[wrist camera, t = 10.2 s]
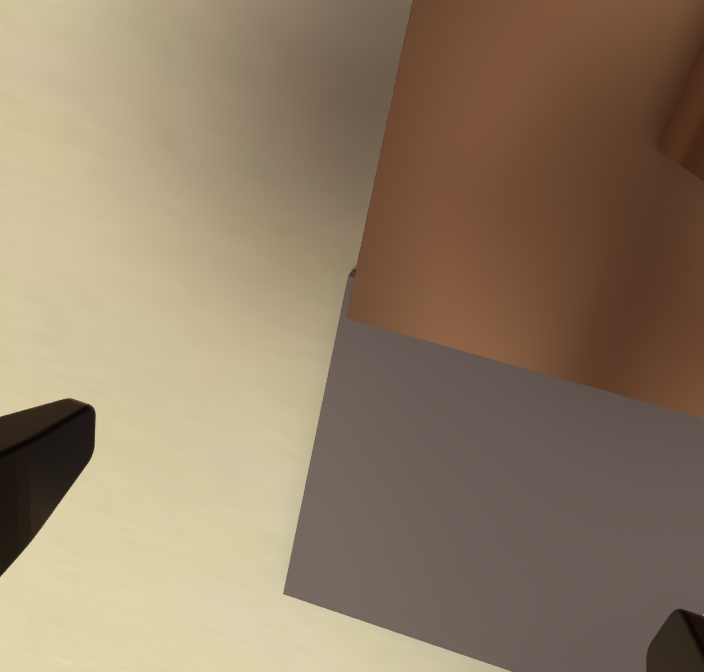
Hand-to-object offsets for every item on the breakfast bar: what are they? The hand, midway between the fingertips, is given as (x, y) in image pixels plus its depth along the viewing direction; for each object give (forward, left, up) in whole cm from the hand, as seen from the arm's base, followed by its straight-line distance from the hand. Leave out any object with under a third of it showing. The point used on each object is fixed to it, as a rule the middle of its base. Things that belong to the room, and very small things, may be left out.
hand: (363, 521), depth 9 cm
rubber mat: (-5, +9, -13) cm, 16 cm away
